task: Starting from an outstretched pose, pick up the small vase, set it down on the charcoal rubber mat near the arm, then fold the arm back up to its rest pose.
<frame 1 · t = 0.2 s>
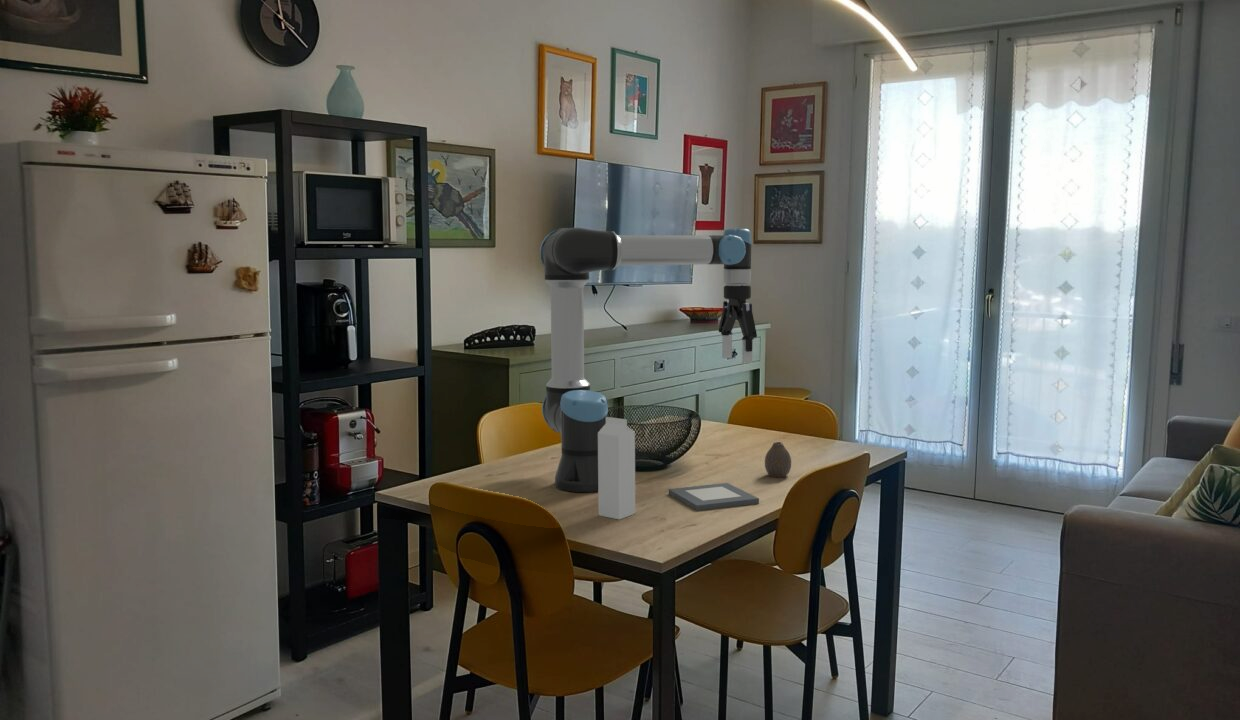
hand: (736, 360, 264), 28 cm above the table, tool pointing down, fingers open, 13 cm apart
vase: (777, 476, 247), on the table
milk: (617, 515, 212), on the table
rest mat: (712, 498, 225), on the table
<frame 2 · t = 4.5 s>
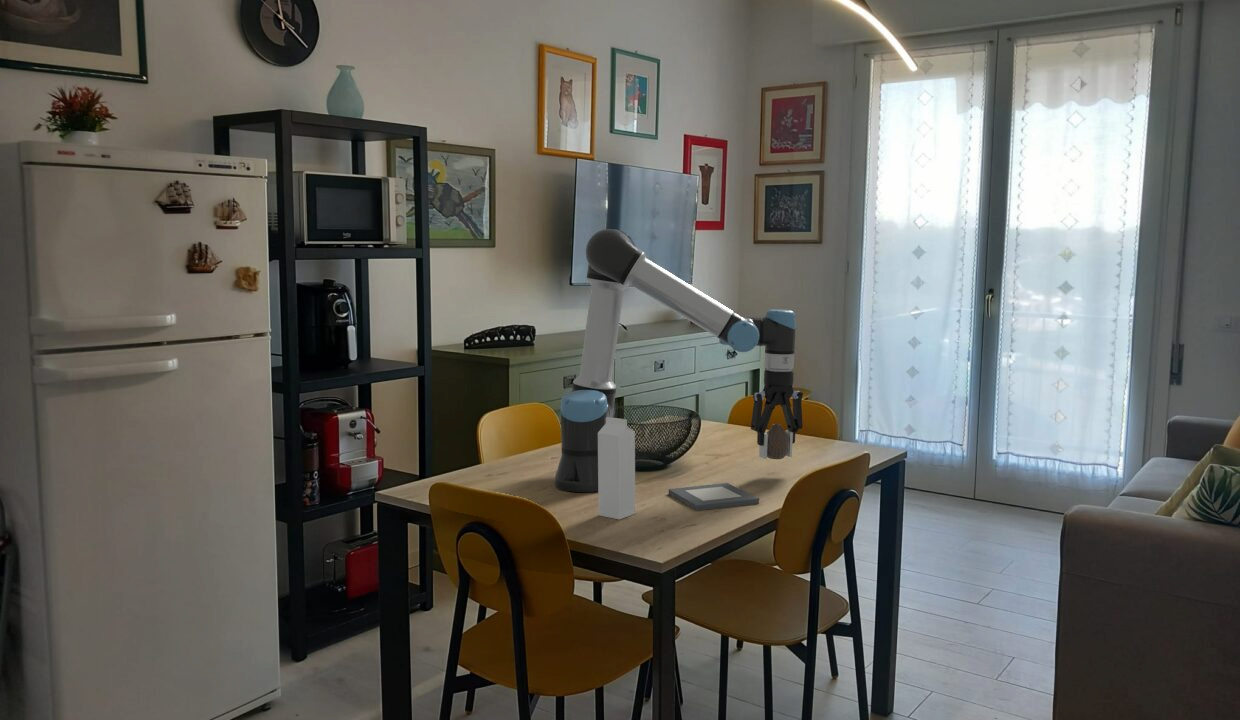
hand: (775, 456, 246), 5 cm above the table, tool pointing down, fingers closed on vase, 7 cm apart
vase: (775, 458, 247), point 5 cm above the table, touching gripper
everything else where it was.
when the fingers open (2 cm above the table, at t = 9.5 s): vase stays where it is, resting on rest mat.
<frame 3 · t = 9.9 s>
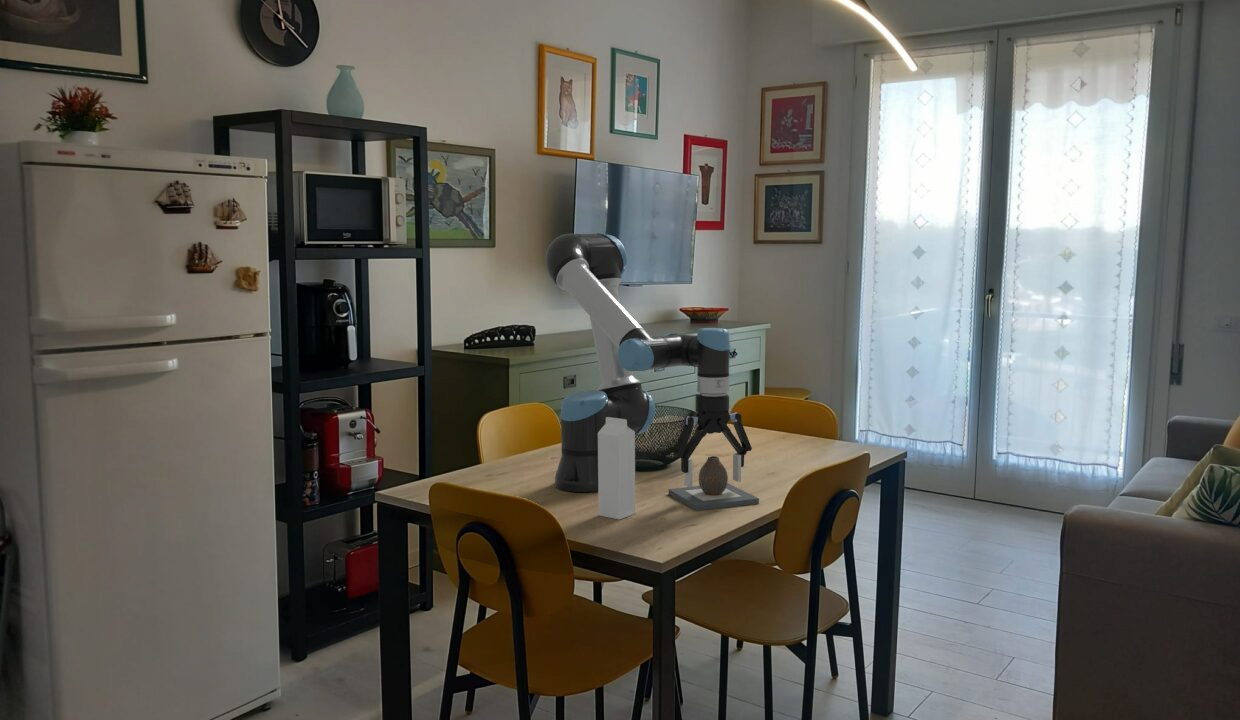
hand: (712, 483, 224), 4 cm above the table, tool pointing down, fingers open, 12 cm apart
vase: (713, 494, 225), point 1 cm above the table, touching rest mat
everything else where it was.
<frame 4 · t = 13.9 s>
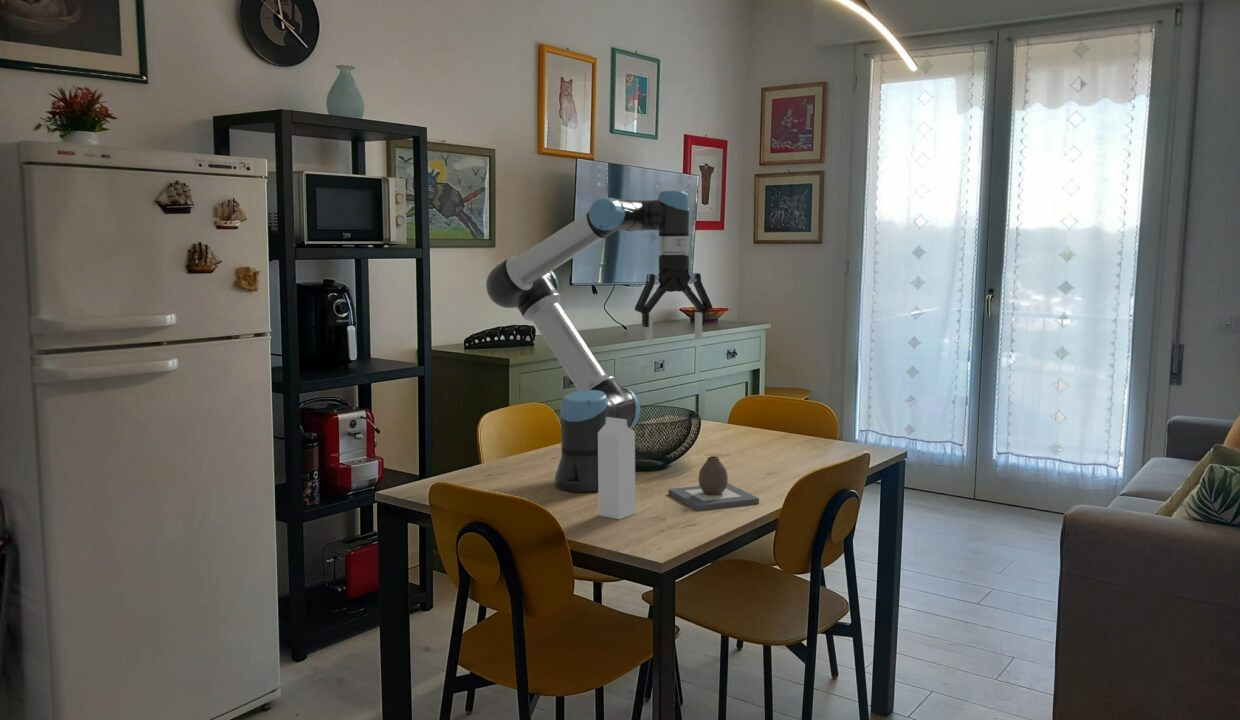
hand: (673, 339, 236), 37 cm above the table, tool pointing down, fingers open, 13 cm apart
nothing on the table moved.
at the end: vase 0.1 cm from the rest mat (horizontally); vase tilted 0°; the gripper is holding nothing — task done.
